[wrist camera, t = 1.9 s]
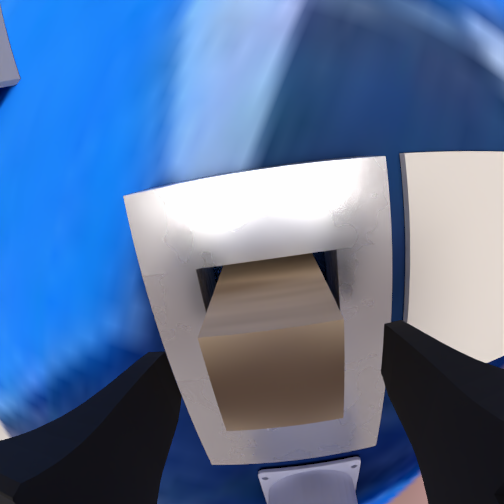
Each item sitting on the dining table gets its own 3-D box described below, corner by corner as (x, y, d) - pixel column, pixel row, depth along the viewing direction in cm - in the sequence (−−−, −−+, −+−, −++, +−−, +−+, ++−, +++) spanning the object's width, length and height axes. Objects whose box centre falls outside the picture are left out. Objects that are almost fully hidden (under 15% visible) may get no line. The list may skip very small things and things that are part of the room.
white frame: (364, 413, 18) (375, 445, 15) (217, 431, 19) (212, 464, 16) (361, 155, 13) (385, 156, 10) (149, 188, 14) (123, 196, 11)
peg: (315, 320, 16) (343, 417, 9) (239, 330, 16) (226, 431, 9) (308, 247, 15) (344, 319, 8) (225, 259, 15) (197, 337, 8)
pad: (507, 348, 16) (511, 352, 16) (395, 386, 17) (398, 391, 16) (527, 152, 12) (533, 153, 12) (399, 153, 13) (404, 153, 13)
